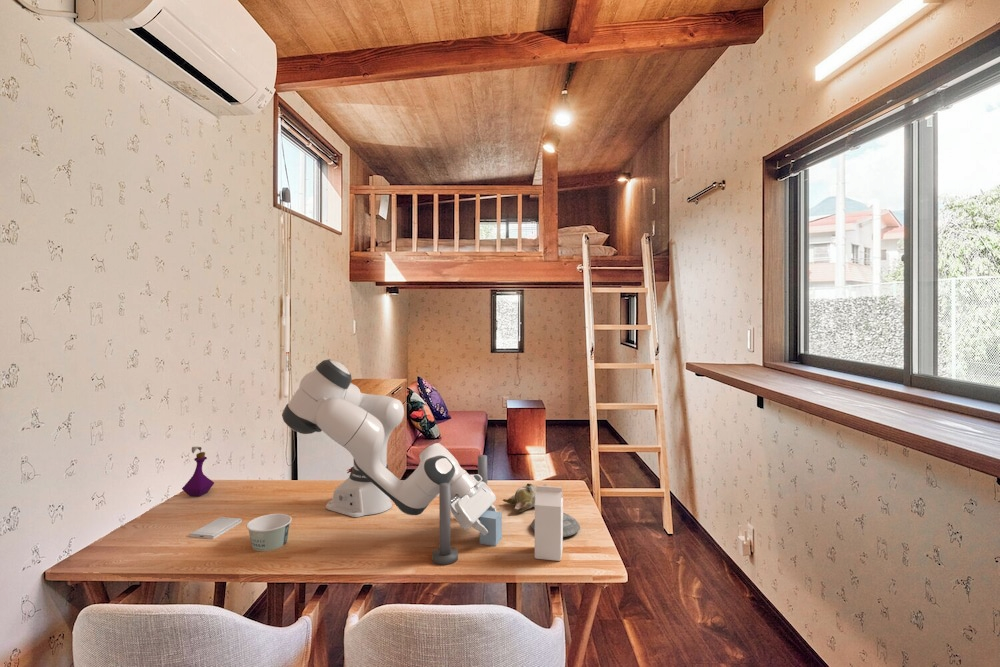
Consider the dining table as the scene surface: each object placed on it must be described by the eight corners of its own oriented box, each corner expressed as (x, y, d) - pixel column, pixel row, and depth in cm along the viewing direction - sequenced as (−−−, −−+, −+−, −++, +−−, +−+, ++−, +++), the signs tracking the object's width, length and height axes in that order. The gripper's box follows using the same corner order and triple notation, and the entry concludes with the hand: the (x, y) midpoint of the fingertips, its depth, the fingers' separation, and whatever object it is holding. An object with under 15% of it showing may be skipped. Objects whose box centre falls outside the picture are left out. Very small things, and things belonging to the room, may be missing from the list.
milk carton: (560, 561, 135) (560, 492, 135) (534, 559, 137) (534, 490, 136) (562, 549, 142) (563, 483, 142) (537, 547, 144) (537, 481, 143)
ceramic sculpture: (553, 484, 170) (512, 493, 165) (554, 509, 170) (514, 519, 165) (540, 475, 180) (500, 483, 175) (541, 499, 180) (502, 507, 175)
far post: (469, 521, 161) (468, 458, 161) (477, 513, 168) (476, 452, 167) (489, 524, 159) (488, 460, 158) (496, 515, 166) (496, 454, 165)
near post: (427, 562, 135) (427, 487, 134) (439, 550, 142) (439, 479, 141) (451, 567, 133) (451, 490, 132) (462, 554, 139) (462, 481, 138)
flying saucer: (589, 530, 155) (589, 512, 155) (559, 546, 145) (559, 527, 145) (551, 516, 166) (551, 500, 166) (521, 530, 155) (521, 512, 155)
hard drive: (219, 516, 163) (189, 533, 151) (242, 518, 161) (213, 535, 149) (219, 521, 163) (189, 538, 151) (242, 523, 162) (213, 540, 149)
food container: (237, 552, 141) (236, 529, 141) (263, 533, 153) (262, 512, 153) (277, 555, 140) (276, 531, 139) (300, 535, 151) (299, 514, 151)
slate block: (479, 543, 146) (479, 516, 146) (486, 536, 151) (485, 510, 150) (495, 546, 144) (495, 518, 144) (501, 538, 149) (501, 512, 149)
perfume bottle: (196, 490, 190) (195, 443, 189) (214, 491, 189) (213, 443, 188) (181, 497, 182) (180, 448, 182) (200, 498, 181) (199, 449, 181)
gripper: (454, 495, 139) (486, 535, 137) (481, 472, 159) (511, 507, 156) (439, 509, 141) (471, 548, 138) (468, 485, 160) (497, 519, 158)
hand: (492, 526), depth 147 cm, fingers open, 8 cm apart
